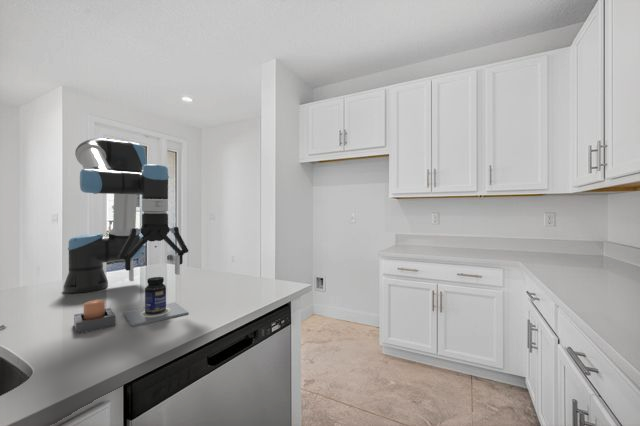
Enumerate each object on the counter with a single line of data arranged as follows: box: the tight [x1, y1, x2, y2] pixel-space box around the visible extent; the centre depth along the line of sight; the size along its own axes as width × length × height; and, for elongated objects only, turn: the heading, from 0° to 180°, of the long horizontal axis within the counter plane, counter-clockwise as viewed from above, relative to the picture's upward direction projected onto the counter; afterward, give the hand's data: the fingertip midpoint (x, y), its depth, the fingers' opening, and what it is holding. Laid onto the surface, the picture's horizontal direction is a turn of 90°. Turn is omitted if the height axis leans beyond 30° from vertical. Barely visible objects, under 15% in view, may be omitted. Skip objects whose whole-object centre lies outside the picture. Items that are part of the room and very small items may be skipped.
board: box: [122, 301, 189, 327], centre depth 98 cm, size 14×16×1 cm
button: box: [83, 299, 106, 320], centre depth 89 cm, size 5×5×5 cm
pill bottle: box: [144, 276, 167, 314], centre depth 98 cm, size 6×6×11 cm
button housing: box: [73, 307, 116, 335], centre depth 89 cm, size 9×9×3 cm
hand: (155, 277), depth 98 cm, fingers open, 13 cm apart
